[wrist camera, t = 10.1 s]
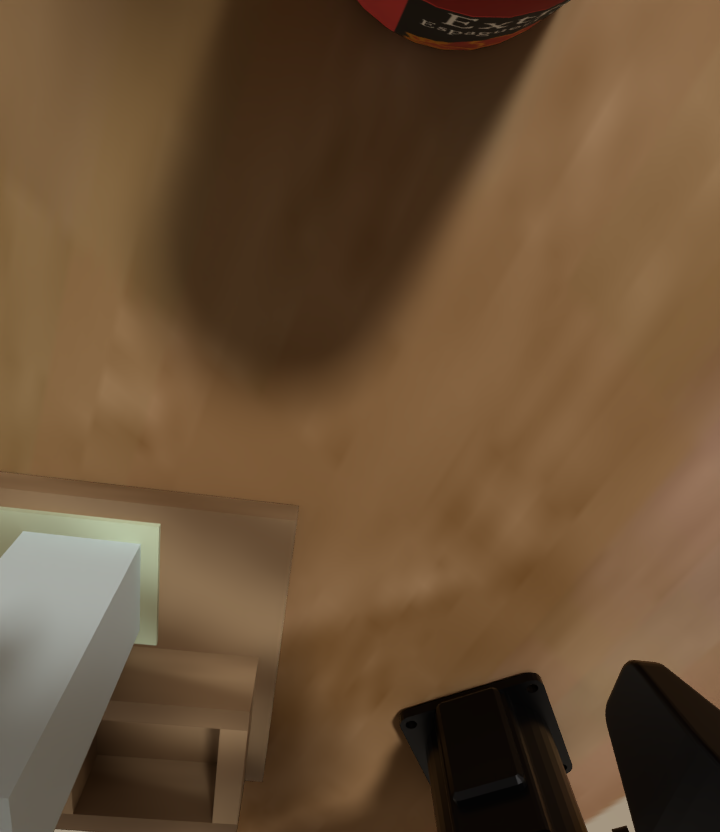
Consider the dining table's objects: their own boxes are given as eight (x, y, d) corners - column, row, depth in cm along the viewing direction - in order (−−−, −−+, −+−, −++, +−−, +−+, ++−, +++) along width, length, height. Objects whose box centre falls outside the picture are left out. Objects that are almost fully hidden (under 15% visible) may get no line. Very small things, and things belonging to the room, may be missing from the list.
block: (139, 630, 22) (21, 907, 14) (30, 619, 22) (-157, 897, 14) (140, 543, 21) (8, 798, 12) (23, 531, 20) (-194, 784, 12)
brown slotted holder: (264, 760, 27) (255, 841, 24) (18, 742, 26) (-26, 824, 23) (299, 506, 22) (291, 565, 18) (-12, 470, 21) (-76, 527, 17)
